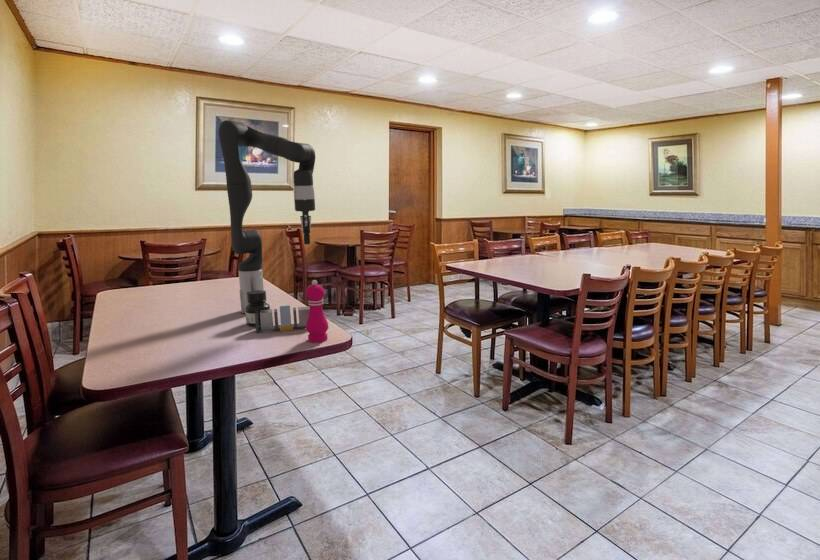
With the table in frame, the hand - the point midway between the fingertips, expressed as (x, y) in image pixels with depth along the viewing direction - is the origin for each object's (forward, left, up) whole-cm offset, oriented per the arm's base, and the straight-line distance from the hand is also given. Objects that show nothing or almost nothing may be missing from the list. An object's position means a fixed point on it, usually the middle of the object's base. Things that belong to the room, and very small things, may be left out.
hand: (307, 244), depth 187 cm
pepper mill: (0, -33, -28) cm, 43 cm away
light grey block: (-10, -16, -27) cm, 33 cm away
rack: (-10, -16, -28) cm, 34 cm away
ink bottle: (-20, -5, -29) cm, 35 cm away
